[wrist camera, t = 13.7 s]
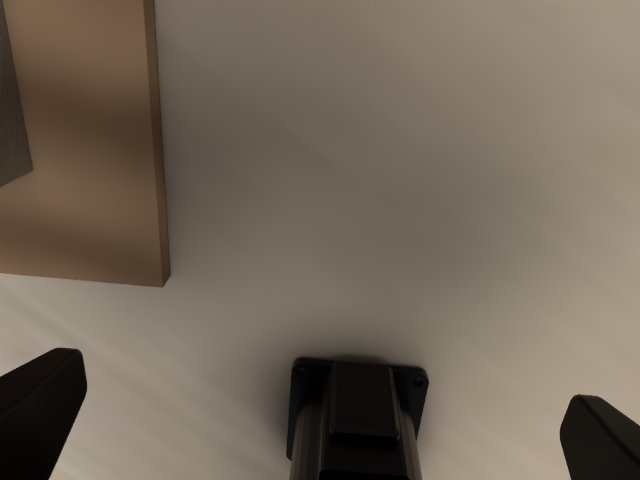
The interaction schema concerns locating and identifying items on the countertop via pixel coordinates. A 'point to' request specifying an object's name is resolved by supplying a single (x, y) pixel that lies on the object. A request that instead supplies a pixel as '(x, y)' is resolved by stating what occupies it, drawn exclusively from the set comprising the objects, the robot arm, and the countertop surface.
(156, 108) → the post base
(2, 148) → the square tube
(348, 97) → the countertop surface
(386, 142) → the countertop surface
